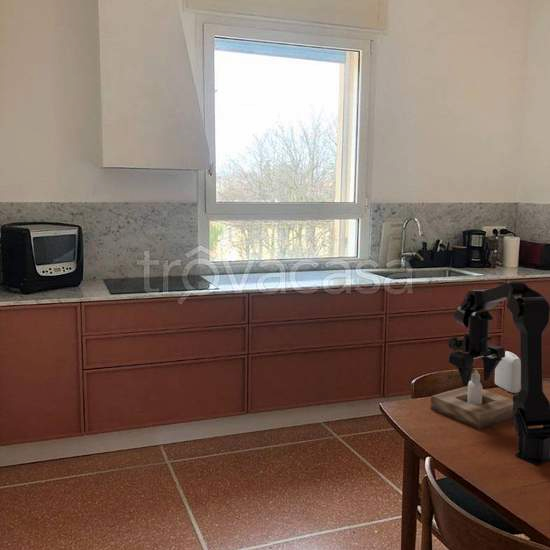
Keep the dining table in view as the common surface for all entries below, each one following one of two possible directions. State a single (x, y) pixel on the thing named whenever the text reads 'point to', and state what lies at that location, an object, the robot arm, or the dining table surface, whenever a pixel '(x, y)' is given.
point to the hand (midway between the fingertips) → (475, 383)
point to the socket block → (473, 407)
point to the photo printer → (509, 373)
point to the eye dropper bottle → (475, 390)
